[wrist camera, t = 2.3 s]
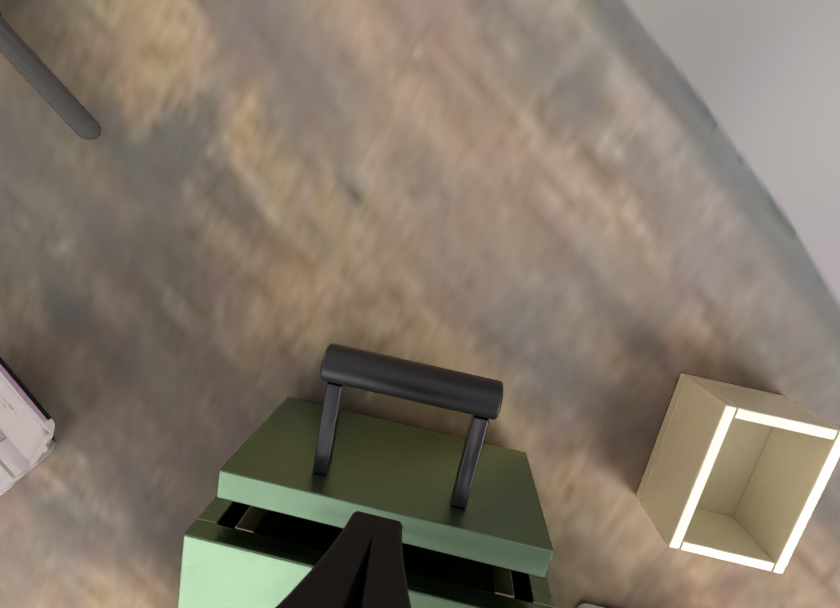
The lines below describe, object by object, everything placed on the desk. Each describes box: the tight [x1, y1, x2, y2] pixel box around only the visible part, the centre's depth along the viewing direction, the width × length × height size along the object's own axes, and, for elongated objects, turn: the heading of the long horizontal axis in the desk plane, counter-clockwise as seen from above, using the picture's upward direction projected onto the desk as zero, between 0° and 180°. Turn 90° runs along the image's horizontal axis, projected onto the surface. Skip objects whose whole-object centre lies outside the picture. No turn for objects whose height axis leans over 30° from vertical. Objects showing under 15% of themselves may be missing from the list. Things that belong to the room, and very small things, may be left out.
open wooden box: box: [636, 373, 840, 574], centre depth 19 cm, size 5×7×4 cm
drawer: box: [217, 344, 553, 599], centre depth 19 cm, size 21×12×6 cm, turn 168°
